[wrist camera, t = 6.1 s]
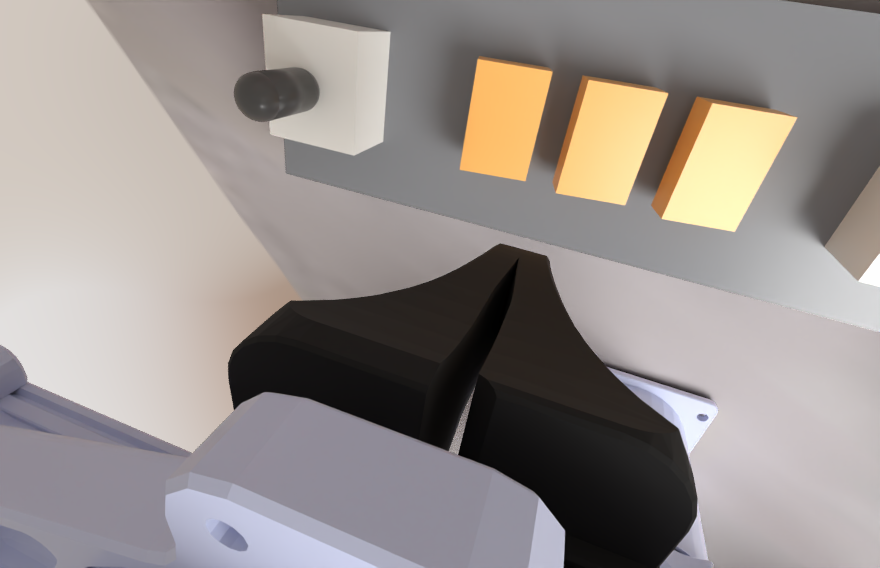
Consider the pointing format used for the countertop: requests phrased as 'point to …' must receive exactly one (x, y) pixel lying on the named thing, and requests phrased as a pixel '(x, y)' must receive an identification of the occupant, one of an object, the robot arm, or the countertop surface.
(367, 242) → the countertop surface
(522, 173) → the switch
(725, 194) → the switch
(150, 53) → the countertop surface
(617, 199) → the middle switch
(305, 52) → the left plug
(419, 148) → the power strip
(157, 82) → the countertop surface
